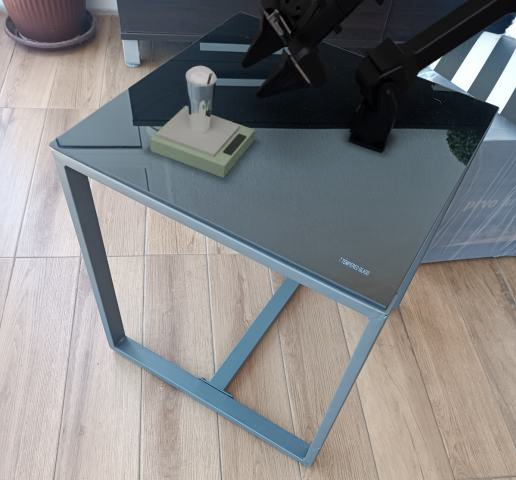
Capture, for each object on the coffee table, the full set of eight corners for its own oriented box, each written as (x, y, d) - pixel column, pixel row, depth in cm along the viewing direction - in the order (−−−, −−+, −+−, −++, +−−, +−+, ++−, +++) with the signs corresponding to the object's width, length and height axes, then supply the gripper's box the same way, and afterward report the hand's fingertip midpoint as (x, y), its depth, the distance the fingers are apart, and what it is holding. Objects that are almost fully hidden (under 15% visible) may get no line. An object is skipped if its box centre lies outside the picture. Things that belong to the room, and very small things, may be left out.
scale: (253, 141, 84) (255, 126, 82) (223, 178, 77) (224, 162, 75) (185, 117, 86) (185, 101, 84) (150, 151, 79) (149, 134, 77)
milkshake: (194, 140, 78) (196, 75, 70) (181, 122, 80) (180, 57, 72) (220, 135, 79) (225, 71, 71) (206, 118, 82) (209, 54, 74)
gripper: (282, -77, 68) (202, 11, 75) (326, -24, 58) (228, 73, 64) (323, -9, 77) (247, 65, 83) (367, 48, 66) (277, 127, 73)
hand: (249, 80), depth 75 cm, fingers open, 9 cm apart
